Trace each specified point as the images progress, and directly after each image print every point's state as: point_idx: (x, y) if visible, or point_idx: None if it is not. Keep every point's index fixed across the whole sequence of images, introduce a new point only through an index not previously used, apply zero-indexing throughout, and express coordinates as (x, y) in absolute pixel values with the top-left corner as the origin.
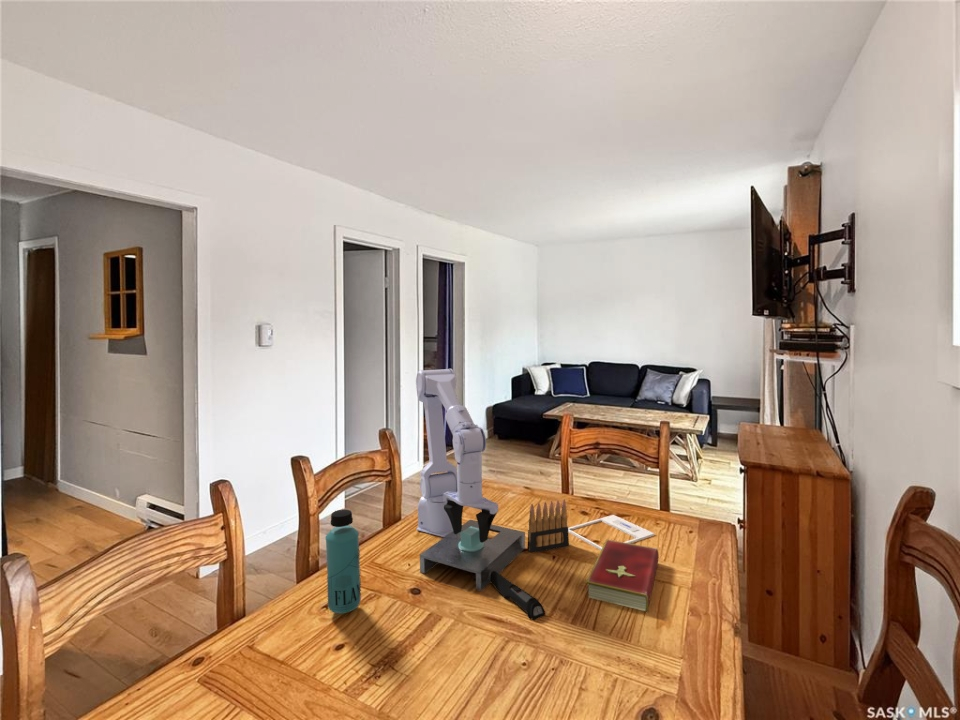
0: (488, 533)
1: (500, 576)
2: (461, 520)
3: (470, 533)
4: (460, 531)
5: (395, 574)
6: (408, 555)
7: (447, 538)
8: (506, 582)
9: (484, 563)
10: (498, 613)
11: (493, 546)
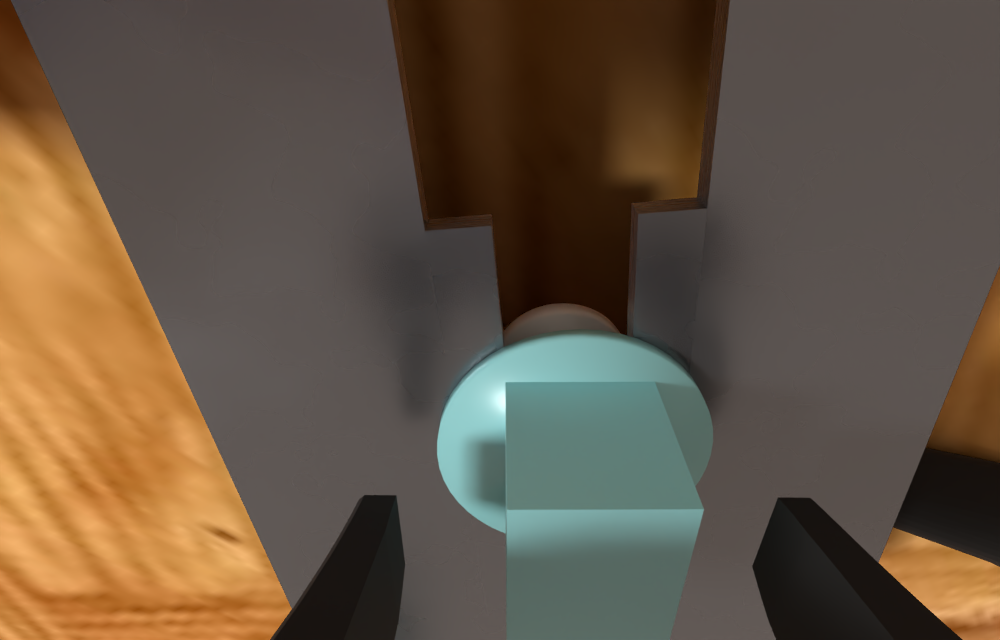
0: (869, 557)
1: (937, 529)
2: (357, 622)
3: (629, 629)
4: (397, 511)
5: (267, 614)
6: (106, 474)
7: (260, 444)
8: (993, 555)
9: None
10: (929, 605)
11: (808, 347)
